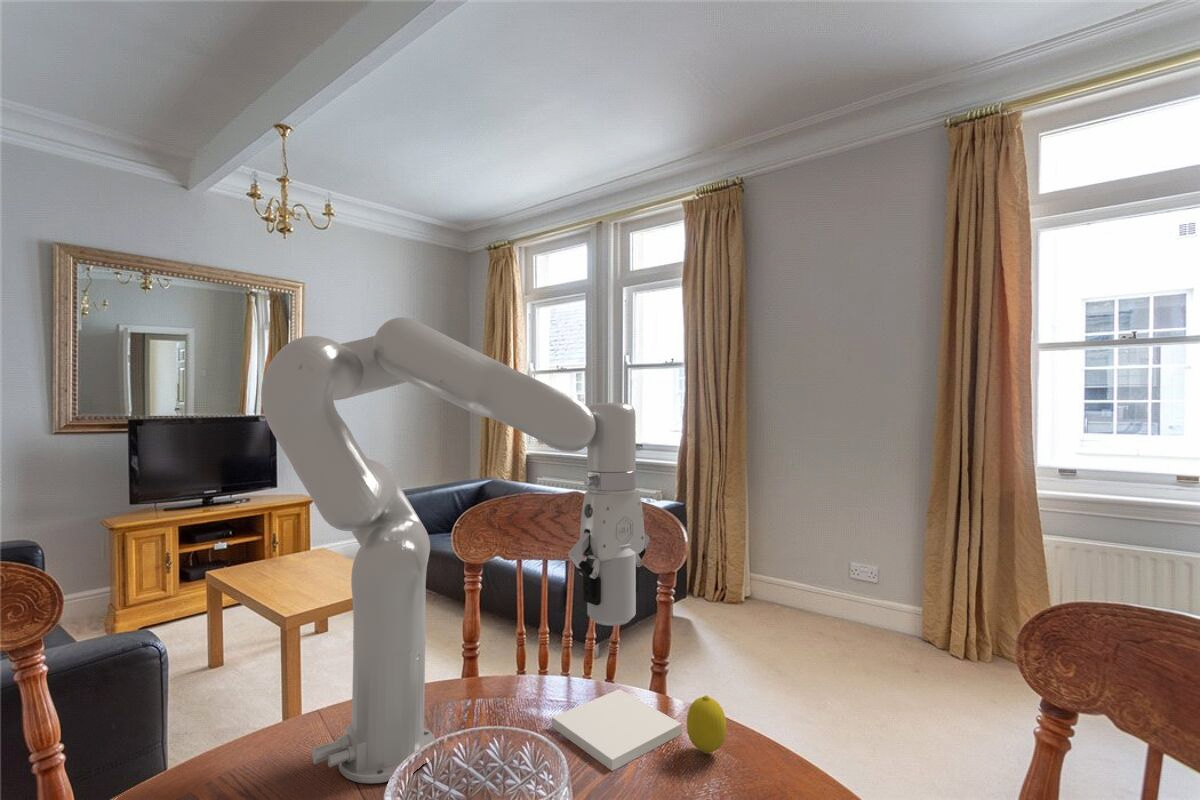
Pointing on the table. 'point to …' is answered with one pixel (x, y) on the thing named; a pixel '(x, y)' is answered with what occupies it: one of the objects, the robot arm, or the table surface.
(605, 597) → the can
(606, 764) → the plate
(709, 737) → the lemon
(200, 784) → the table surface
